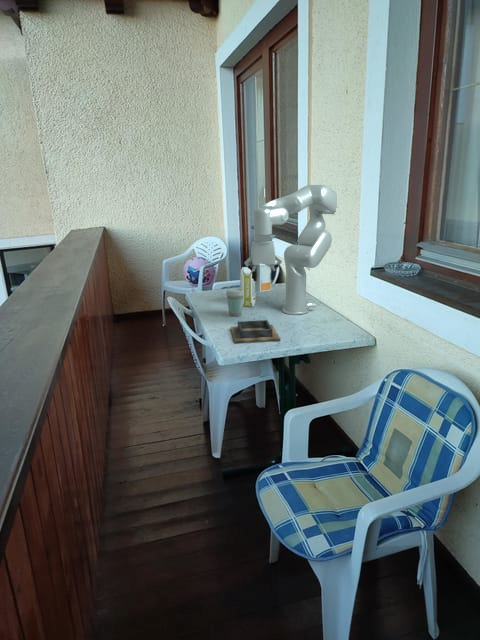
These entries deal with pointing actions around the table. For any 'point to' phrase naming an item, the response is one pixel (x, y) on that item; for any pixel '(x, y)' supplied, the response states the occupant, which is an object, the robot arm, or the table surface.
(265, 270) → the skincare box
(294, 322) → the table surface
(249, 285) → the juice carton
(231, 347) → the table surface
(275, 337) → the wooden framed tray
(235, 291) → the coffee cup
